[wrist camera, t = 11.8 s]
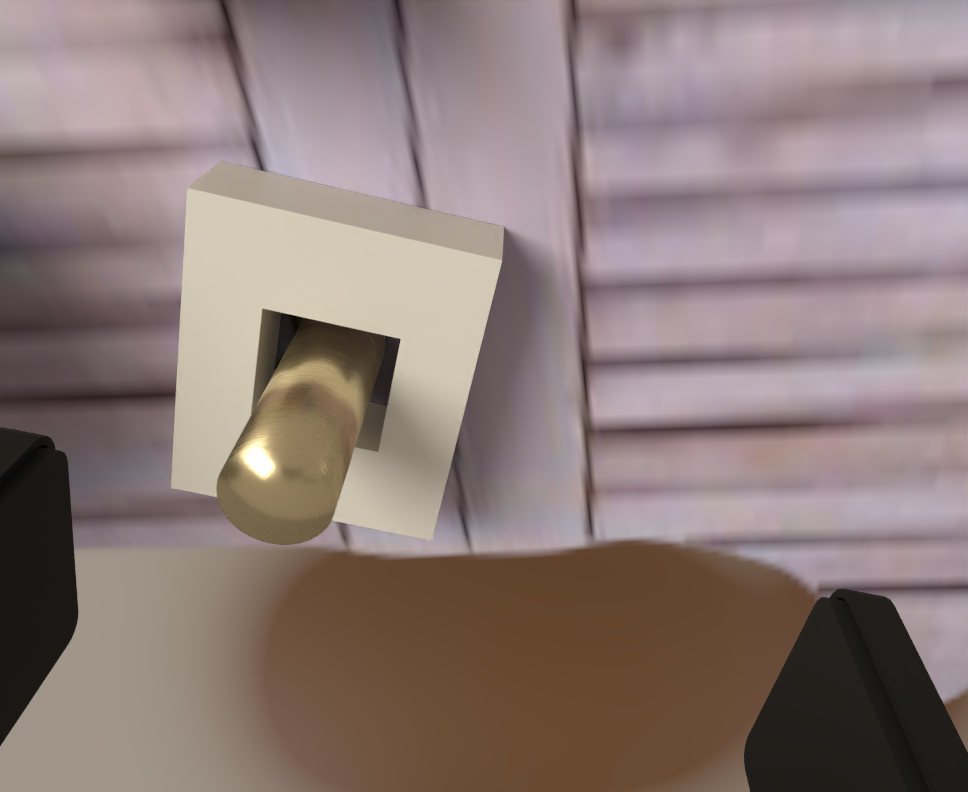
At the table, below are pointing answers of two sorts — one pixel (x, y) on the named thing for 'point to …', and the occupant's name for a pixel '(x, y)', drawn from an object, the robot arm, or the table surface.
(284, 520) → the gold cylindrical peg
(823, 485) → the table surface
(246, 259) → the white square socket block
